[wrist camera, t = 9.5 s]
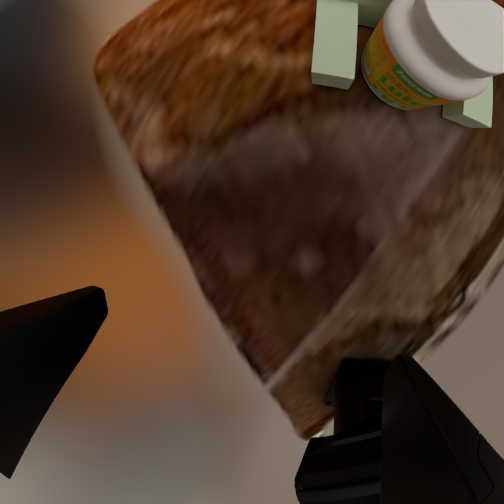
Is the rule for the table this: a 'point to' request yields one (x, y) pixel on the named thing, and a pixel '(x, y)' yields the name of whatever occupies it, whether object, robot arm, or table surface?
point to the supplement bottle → (434, 52)
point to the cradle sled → (344, 55)
